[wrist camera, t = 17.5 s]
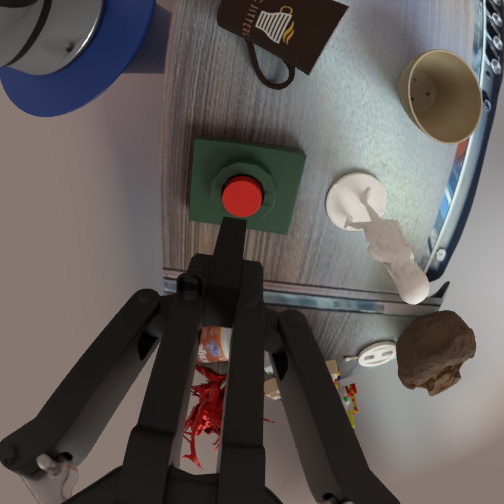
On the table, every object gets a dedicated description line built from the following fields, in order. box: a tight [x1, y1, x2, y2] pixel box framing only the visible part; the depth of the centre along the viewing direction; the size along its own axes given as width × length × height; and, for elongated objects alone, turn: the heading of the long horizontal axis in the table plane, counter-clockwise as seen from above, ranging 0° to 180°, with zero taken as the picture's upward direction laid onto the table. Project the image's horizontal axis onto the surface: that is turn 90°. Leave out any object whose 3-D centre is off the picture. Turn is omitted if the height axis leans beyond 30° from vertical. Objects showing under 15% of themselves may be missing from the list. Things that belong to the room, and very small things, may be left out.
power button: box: [222, 176, 262, 217], centre depth 30 cm, size 4×4×2 cm
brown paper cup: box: [217, 0, 349, 90], centre depth 21 cm, size 12×9×10 cm
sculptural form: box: [183, 364, 274, 468], centre depth 49 cm, size 20×25×22 cm
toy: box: [264, 351, 358, 428], centre depth 46 cm, size 14×16×30 cm
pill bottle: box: [196, 325, 232, 364], centre depth 46 cm, size 6×6×11 cm
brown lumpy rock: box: [396, 310, 476, 396], centre depth 41 cm, size 19×20×13 cm
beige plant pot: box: [398, 49, 483, 144], centre depth 23 cm, size 10×10×7 cm
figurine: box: [326, 172, 430, 304], centre depth 27 cm, size 8×8×18 cm
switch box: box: [189, 135, 306, 235], centre depth 32 cm, size 12×10×4 cm
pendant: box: [345, 341, 396, 367], centre depth 50 cm, size 7×11×1 cm, turn 102°
